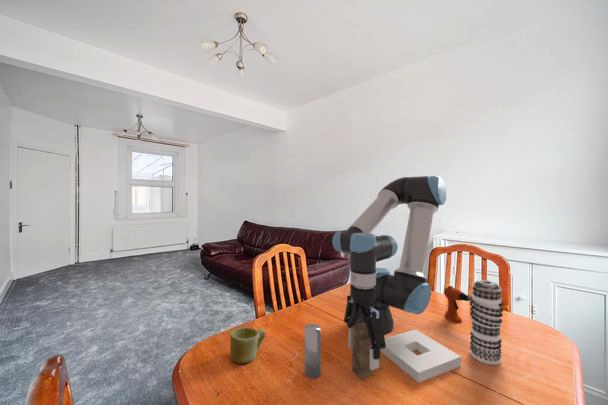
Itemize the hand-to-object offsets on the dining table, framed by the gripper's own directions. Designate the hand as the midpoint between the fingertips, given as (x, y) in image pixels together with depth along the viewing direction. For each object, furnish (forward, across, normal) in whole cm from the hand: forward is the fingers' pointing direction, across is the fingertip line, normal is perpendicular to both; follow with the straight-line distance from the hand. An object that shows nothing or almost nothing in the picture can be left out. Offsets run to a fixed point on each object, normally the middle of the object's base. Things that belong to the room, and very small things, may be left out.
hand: (362, 357), depth 78 cm
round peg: (+5, -6, -14) cm, 16 cm away
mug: (+5, -23, -30) cm, 38 cm away
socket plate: (+5, +1, +21) cm, 22 cm away
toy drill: (+5, -8, +55) cm, 56 cm away
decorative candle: (+5, +10, +42) cm, 43 cm away
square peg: (+5, 0, 0) cm, 5 cm away
